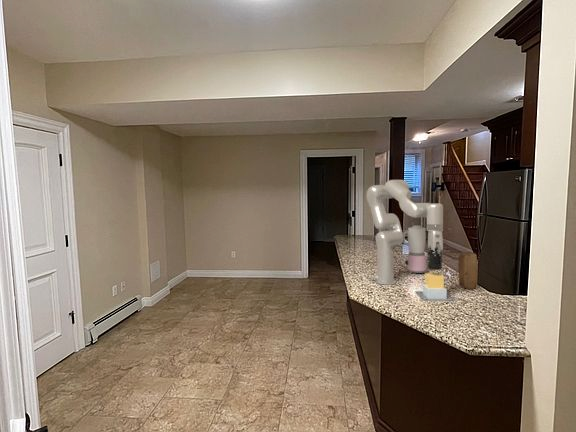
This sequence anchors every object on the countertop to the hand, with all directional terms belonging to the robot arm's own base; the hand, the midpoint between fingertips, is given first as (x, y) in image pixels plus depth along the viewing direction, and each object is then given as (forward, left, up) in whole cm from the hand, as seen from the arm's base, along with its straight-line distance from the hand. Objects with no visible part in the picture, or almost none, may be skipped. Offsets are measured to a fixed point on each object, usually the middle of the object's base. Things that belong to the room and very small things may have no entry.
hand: (434, 262), depth 169 cm
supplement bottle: (0, 0, -4) cm, 4 cm away
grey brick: (0, 0, -18) cm, 18 cm away
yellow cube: (0, 0, -13) cm, 13 cm away
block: (+24, +22, -19) cm, 38 cm away
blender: (+3, +57, -19) cm, 60 cm away
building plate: (0, 0, -19) cm, 19 cm away
